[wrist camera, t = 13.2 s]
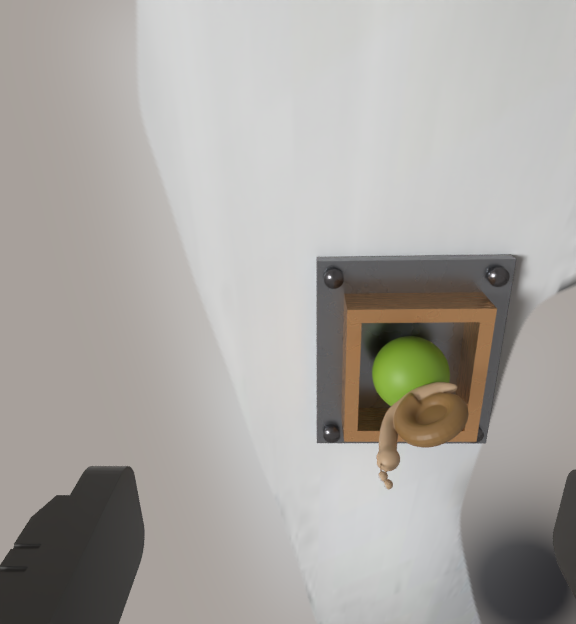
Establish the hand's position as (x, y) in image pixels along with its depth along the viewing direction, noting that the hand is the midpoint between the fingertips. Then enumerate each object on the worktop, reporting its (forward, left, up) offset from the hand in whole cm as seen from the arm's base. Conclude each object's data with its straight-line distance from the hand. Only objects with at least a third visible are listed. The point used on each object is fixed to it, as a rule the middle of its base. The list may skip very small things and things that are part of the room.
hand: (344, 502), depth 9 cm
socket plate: (+12, +7, -28) cm, 31 cm away
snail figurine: (+12, +6, -27) cm, 30 cm away
